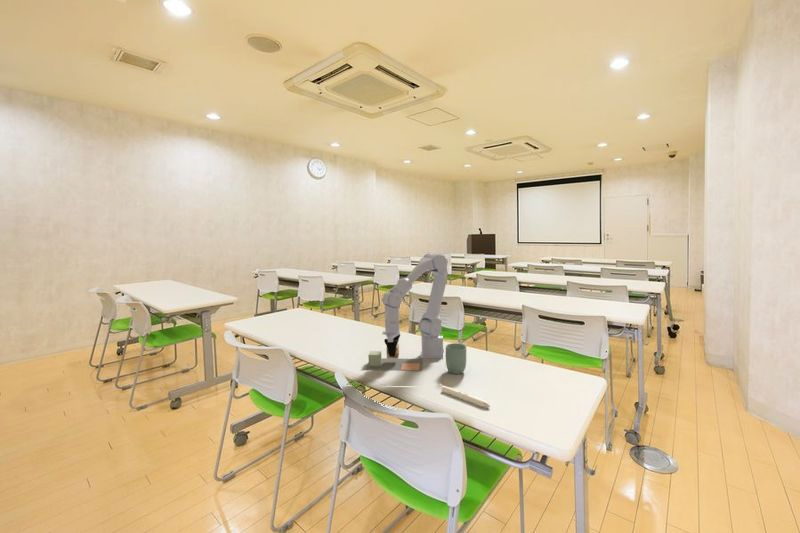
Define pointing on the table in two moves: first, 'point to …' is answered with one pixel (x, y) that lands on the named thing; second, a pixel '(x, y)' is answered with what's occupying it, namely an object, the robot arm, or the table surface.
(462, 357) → the cup
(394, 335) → the robot arm
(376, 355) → the sage block
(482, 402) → the marker
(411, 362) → the mat
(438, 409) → the table surface
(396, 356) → the maple block
